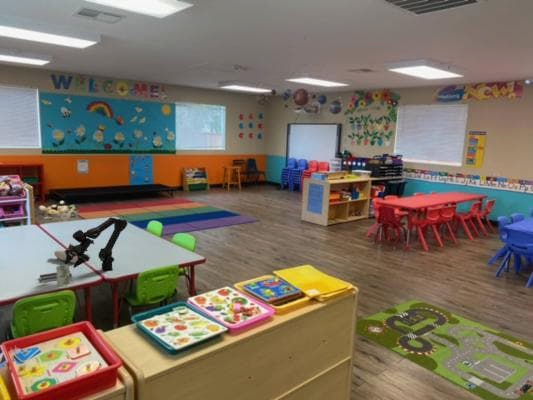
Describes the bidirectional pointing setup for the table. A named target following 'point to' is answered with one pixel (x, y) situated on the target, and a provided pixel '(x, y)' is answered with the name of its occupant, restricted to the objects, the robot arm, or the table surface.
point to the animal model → (63, 256)
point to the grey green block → (63, 275)
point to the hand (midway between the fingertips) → (69, 266)
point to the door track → (51, 277)
